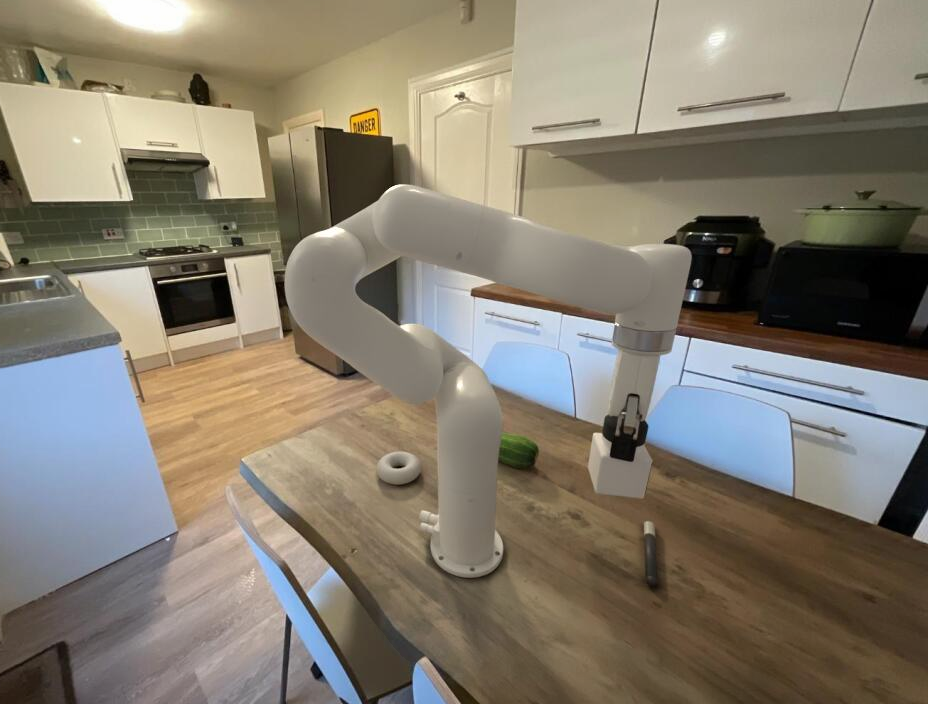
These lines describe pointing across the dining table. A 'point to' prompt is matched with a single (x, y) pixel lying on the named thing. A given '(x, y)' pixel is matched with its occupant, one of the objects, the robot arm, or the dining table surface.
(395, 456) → the donut
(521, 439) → the vegetable
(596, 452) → the white block black top
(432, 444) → the dining table surface
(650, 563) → the marker
